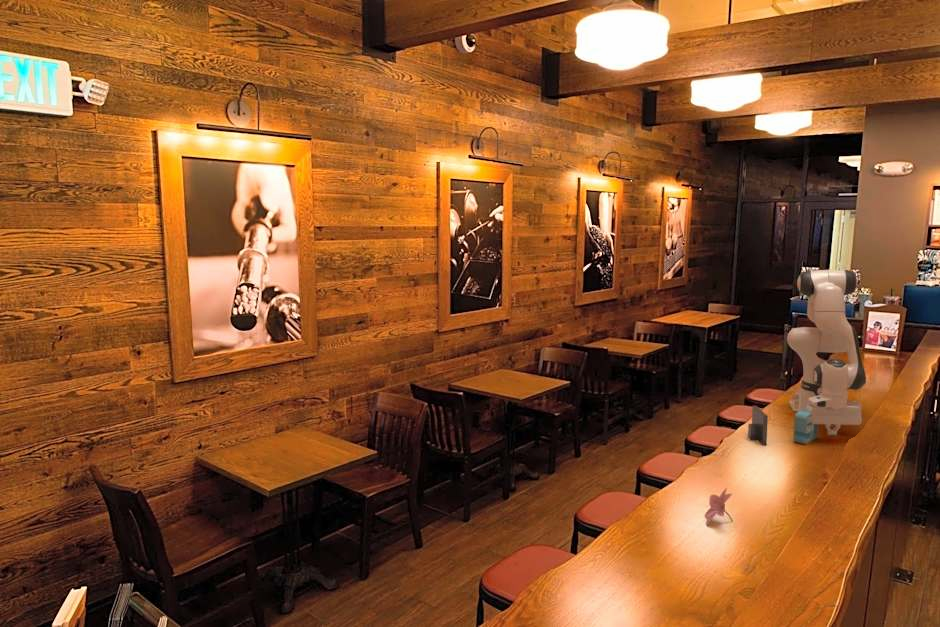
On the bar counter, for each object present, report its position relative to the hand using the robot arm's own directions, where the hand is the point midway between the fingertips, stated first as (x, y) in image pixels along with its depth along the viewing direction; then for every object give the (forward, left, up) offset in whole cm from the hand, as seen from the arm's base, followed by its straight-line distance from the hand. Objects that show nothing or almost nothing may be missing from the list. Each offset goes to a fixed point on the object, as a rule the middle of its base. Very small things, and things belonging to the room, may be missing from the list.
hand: (831, 434), depth 248 cm
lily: (+73, -61, -3) cm, 96 cm away
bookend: (0, -29, -3) cm, 29 cm away
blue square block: (0, -10, -3) cm, 10 cm away
